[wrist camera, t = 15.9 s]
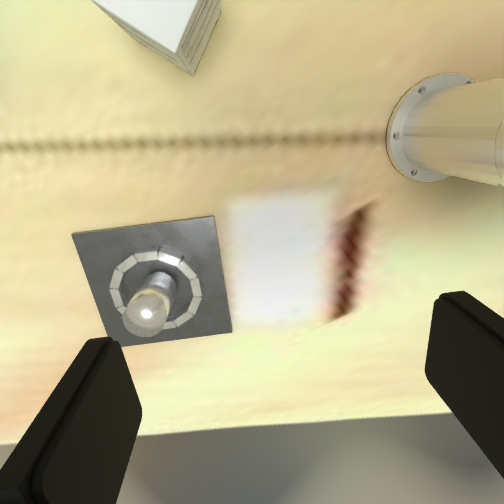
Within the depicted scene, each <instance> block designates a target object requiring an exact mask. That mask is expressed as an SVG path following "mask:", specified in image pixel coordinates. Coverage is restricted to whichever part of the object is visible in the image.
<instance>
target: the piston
mask: <svg viewBox="0 0 504 504" xmlns="http://www.w3.org/2000/svg"><path fill="white" fill-rule="evenodd" d="M176 293H177V284H176V282H175V280H174V279H173V278H172V277H171V276H169V275H168V274H166V273H162V272H154V273H151V274H149V275H147V276H146V277H145V278H144V280H143V282H142V283H141V285H140V286H139V288H138V290H137V291H136V293H135V294H134V296H133V298H132V299H131V301H130V302H129V304H128V306H127V307H126V309H125V310H124V312H123V315H122V321H123V324H124V326H125V328H126V329H127V330H128V331H129V332H131V333H132V334H134V335H136V336H140V337H151V336H155V335H157V334H158V333H159V332H160V331H161V330H162V329H163V326H164V324H165V321H166V319H167V316H168V313H169V311H170V308H171V306H172V303H173V300H174V298H175V295H176Z"/></svg>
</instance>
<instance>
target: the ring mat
mask: <svg viewBox="0 0 504 504" xmlns="http://www.w3.org/2000/svg"><path fill="white" fill-rule="evenodd" d="M71 235H72V238H73V241H74V244H75V246H76V249H77V252H78V255H79V257H80V260H81V263H82V266H83V269H84V271H85V274H86V277H87V280H88V283H89V285H90V288H91V291H92V294H93V296H94V299H95V302H96V305H97V308H98V310H99V313H100V316H101V319H102V322H103V324H104V327H105V330H106V333H107V335H108V337H111V338H112V339H113V340H114V341H118V342H119V343H120V346H121V347H125V346H132V345H140V344H148V343H155V342H163V341H171V340H178V339H186V338H194V337H201V336H209V335H217V334H224V333H232V325H231V319H230V313H229V307H228V301H227V294H226V288H225V282H224V276H223V270H222V264H221V258H220V252H219V246H218V239H217V233H216V227H215V221H214V216H207V217H199V218H191V219H182V220H174V221H166V222H158V223H150V224H142V225H134V226H126V227H118V228H110V229H102V230H94V231H85V232H77V233H73V234H71ZM154 272H162V273H166V274H168V275H169V276H171V277H172V278H173V279H174V280H175V282H176V284H177V293H176V295H175V298H174V300H173V303H172V306H171V308H170V311H169V313H168V316H167V319H166V321H165V324H164V326H163V329H162V330H161V331H160V332H159V333H158V334H157V335H155V336H151V337H140V336H136V335H134V334H132V333H131V332H129V331H128V330H127V329H126V328H125V326H124V324H123V321H122V315H123V312H124V310H125V309H126V307H127V306H128V304H129V302H130V301H131V299H132V298H133V296H134V294H135V293H136V291H137V290H138V288H139V286H140V285H141V283H142V282H143V280H144V278H145V277H146V276H147V275H149V274H151V273H154Z"/></svg>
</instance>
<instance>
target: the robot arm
mask: <svg viewBox="0 0 504 504" xmlns="http://www.w3.org/2000/svg"><path fill="white" fill-rule="evenodd" d="M418 90H419V93H418ZM393 134H394V137H393ZM386 142H387V151H388V154H389V158H390V160H391V162H392V163H393V165H394V167H395V168H396V169H397V170H398V171H399V172H400V173H401V174H403V175H404V176H406V177H408V178H410V179H413V180H417V181H421V182H434V181H439V180H442V179H446V178H448V177H450V176H456V177H460V178H465V179H469V180H473V181H478V182H482V183H487V184H491V185H495V186H500V187H504V78H499V79H493V80H488V81H482V82H475V81H474V80H473V79H471V78H469V77H467V76H466V75H462V74H458V73H445V74H440V75H436V76H433V77H430V78H427V79H425V80H423V81H421V82H419V83H418V84H416V85H415V86H414V87H413V88H411V89H410V90H409V91H408V92H407V93H406V94H405V95H404V96H403V97H402V98H401V100H400V101H399V103H398V104H397V106H396V107H395V109H394V111H393V113H392V116H391V118H390V121H389V125H388V128H387V137H386ZM411 171H412V173H411ZM425 374H426V377H427V379H428V381H429V383H430V384H431V385H432V386H433V388H434V389H435V390H436V392H437V393H438V394H439V396H440V397H441V398H442V399H443V401H444V402H445V403H446V405H447V406H448V407H449V408H450V410H451V411H452V412H453V414H454V415H455V416H456V417H457V419H458V420H459V421H460V423H461V424H462V425H463V426H464V428H465V429H466V431H467V432H468V433H469V434H470V436H471V437H472V438H473V440H474V441H475V442H476V443H477V445H478V446H479V447H480V449H481V450H482V451H483V453H484V454H485V455H486V456H487V458H488V459H489V460H490V462H491V463H492V464H493V465H494V467H495V468H496V469H497V471H498V472H499V473H500V474H501V476H502V477H503V478H504V318H502V317H501V316H500V315H498V314H497V313H495V312H494V311H492V310H491V309H490V308H488V307H487V306H485V305H484V304H483V303H481V302H480V301H478V300H477V299H476V298H474V297H473V296H471V295H470V294H468V293H467V292H465V291H457V292H449V293H443V294H441V295H440V296H439V299H437V300H435V302H434V307H433V314H432V321H431V328H430V335H429V342H428V349H427V356H426V363H425ZM141 419H142V407H141V404H140V401H139V398H138V395H137V392H136V389H135V386H134V383H133V381H132V378H131V375H130V372H129V369H128V366H127V363H126V360H125V357H124V354H123V351H122V349H121V346H120V343H119V342H118V341H114V340H113V339H112V338H111V337H101V338H94V339H89V340H88V341H87V342H86V343H85V344H84V346H83V347H82V349H81V350H80V352H79V353H78V355H77V356H76V358H75V359H74V361H73V362H72V364H71V365H70V367H69V368H68V370H67V371H66V373H65V374H64V376H63V377H62V379H61V380H60V382H59V383H58V385H57V386H56V388H55V389H54V391H53V392H52V394H51V395H50V397H49V398H48V400H47V401H46V402H45V404H44V405H43V407H42V408H41V410H40V411H39V413H38V414H37V416H36V417H35V419H34V420H33V422H32V423H31V425H30V426H29V428H28V429H27V431H26V432H25V434H24V435H23V437H22V438H21V440H20V441H19V443H18V444H17V446H16V447H15V449H14V450H13V452H12V453H11V455H10V456H9V458H8V459H7V461H6V462H5V464H4V465H3V467H2V468H1V470H0V504H116V502H117V498H118V495H119V492H120V488H121V485H122V482H123V479H124V475H125V472H126V469H127V465H128V462H129V458H130V456H131V452H132V449H133V445H134V442H135V439H136V436H137V433H138V429H139V426H140V423H141Z"/></svg>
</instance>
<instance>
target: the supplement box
mask: <svg viewBox="0 0 504 504" xmlns="http://www.w3.org/2000/svg"><path fill="white" fill-rule="evenodd" d="M91 1H92V2H94V3H95V4H96V5H97V6H98V7H99V8H100V9H101V10H103V11H104V12H105V13H106V14H107V15H108V16H109V17H110V18H111V19H112V20H114V21H115V22H116V23H117V24H118V25H119V26H120V27H121V28H122V29H123V30H125V31H126V32H127V33H128V34H129V35H130V36H131V37H132V38H134V39H135V40H137V41H139V42H140V43H142V44H144V45H145V46H147V47H148V48H150V49H152V50H153V51H155V52H156V53H158V54H159V55H161V56H163V57H164V58H166V59H167V60H169V61H170V62H172V63H174V64H175V65H177V66H178V67H180V68H181V69H183V70H184V71H186V72H187V73H189V74H190V75H192V76H193V74H194V72H195V69H196V67H197V65H198V63H199V60H200V58H201V56H202V54H203V51H204V49H205V47H206V45H207V42H208V40H209V38H210V36H211V33H212V31H213V29H214V27H215V24H216V22H217V20H218V17H219V15H220V13H221V0H91Z"/></svg>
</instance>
